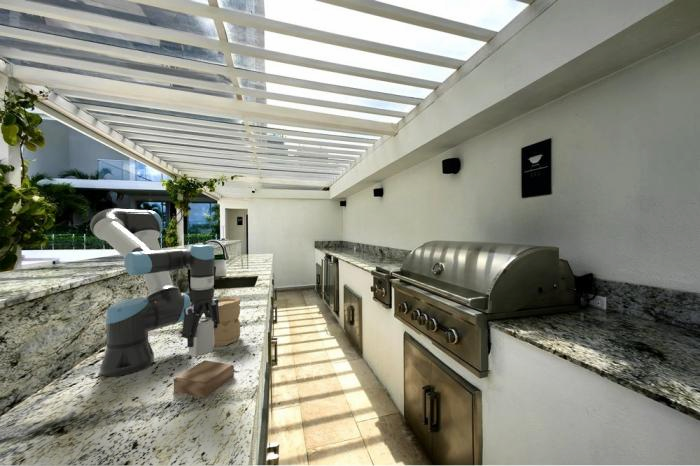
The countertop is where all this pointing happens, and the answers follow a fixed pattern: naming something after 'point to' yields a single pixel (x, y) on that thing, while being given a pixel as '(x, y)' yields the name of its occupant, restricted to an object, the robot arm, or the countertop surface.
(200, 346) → the can
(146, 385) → the countertop surface
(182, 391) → the tan cardboard box
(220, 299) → the container
